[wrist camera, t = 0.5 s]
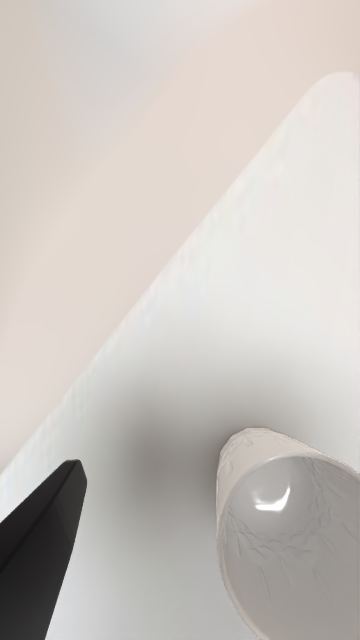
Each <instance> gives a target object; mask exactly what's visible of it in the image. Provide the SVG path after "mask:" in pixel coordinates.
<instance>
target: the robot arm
mask: <svg viewBox="0 0 360 640" xmlns="http://www.w3.org/2000/svg"><path fill="white" fill-rule="evenodd" d="M86 488H87V478H86V475H85V472H84V469H83V466H82V463H81V461H80V460H78V459H76V460H67V461H65V462H63V463H62V464H61V465H60V466H59V467H58V468H57V469H56V470H55V471H54V472H53V473H52V474H51V475H50V476H49V477H48V478H47V479H46V480H44V481H43V482H42V483H41V484H40V485H39V486H38V487H37V488H36V489H35V490H34V491H33V492H32V493H31V494H30V495H29V496H28V497H27V498H26V499H25V500H24V501H23V502H22V503H21V504H20V505H19V506H17V507H16V508H15V509H14V510H13V511H12V512H11V513H10V514H9V515H8V516H7V517H6V518H5V519H4V520H3V521H2V522H1V523H0V640H45V637H46V634H47V631H48V628H49V624H50V621H51V618H52V615H53V612H54V608H55V605H56V602H57V599H58V596H59V592H60V589H61V586H62V583H63V580H64V576H65V573H66V570H67V567H68V564H69V560H70V557H71V554H72V550H73V546H74V542H75V538H76V534H77V529H78V525H79V520H80V515H81V511H82V506H83V502H84V497H85V493H86Z"/></svg>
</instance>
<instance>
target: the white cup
mask: <svg viewBox="0 0 360 640" xmlns="http://www.w3.org/2000/svg"><path fill="white" fill-rule="evenodd" d="M216 515H217V553H218V561H219V567H220V571H221V575H222V579H223V582H224V585H225V588H226V591H227V593H228V595H229V598H230V600H231V602H232V604H233V605H234V607H235V609H236V611H237V612H238V614H239V616H240V617H241V618H242V620H243V621H244V623H245V624H246V625H247V626H248V628H249V629H250V630H251V631H252V632H253V633H254V634H255V635H256V636H257V637H258V638H259V639H260V640H360V474H359V473H358V472H356V471H355V470H354V469H352V468H351V467H349V466H347V465H346V464H344V463H342V462H340V461H338V460H336V459H334V458H332V457H330V456H328V455H326V454H324V453H322V452H320V451H318V450H316V449H314V448H312V447H310V446H308V445H306V444H303V443H301V442H300V441H298V440H296V439H294V438H291V437H289V436H286V435H284V434H281V433H277V432H274V431H272V430H270V429H268V428H246V429H244V430H242V431H240V432H238V433H236V434H234V435H232V436H231V437H230V438H229V440H228V441H227V443H226V444H225V446H224V447H223V448H222V450H221V451H220V456H219V462H218V468H217V480H216Z"/></svg>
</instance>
